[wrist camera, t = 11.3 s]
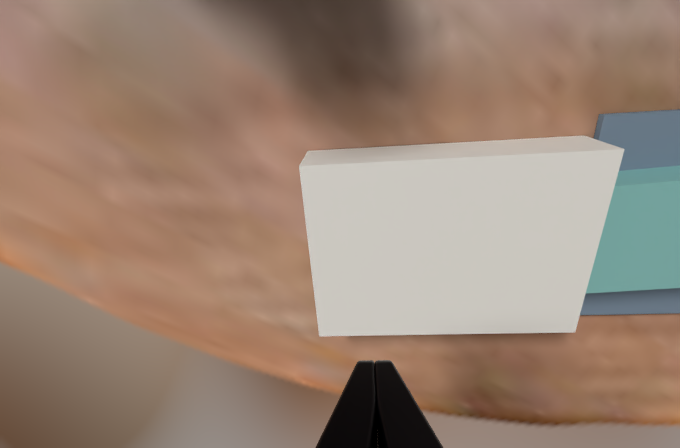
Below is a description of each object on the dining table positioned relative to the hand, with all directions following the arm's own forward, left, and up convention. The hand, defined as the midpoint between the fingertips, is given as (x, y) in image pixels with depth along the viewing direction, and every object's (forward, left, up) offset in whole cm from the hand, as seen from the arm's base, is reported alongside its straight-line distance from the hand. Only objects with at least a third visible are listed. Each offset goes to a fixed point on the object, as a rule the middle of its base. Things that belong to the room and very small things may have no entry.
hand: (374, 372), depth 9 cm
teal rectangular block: (-16, +2, -12) cm, 20 cm away
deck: (-4, +2, -12) cm, 13 cm away
